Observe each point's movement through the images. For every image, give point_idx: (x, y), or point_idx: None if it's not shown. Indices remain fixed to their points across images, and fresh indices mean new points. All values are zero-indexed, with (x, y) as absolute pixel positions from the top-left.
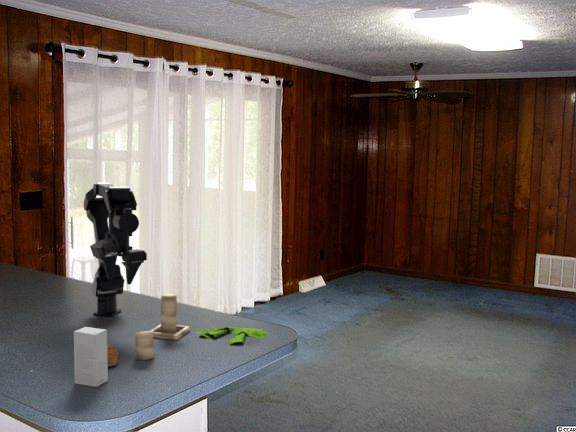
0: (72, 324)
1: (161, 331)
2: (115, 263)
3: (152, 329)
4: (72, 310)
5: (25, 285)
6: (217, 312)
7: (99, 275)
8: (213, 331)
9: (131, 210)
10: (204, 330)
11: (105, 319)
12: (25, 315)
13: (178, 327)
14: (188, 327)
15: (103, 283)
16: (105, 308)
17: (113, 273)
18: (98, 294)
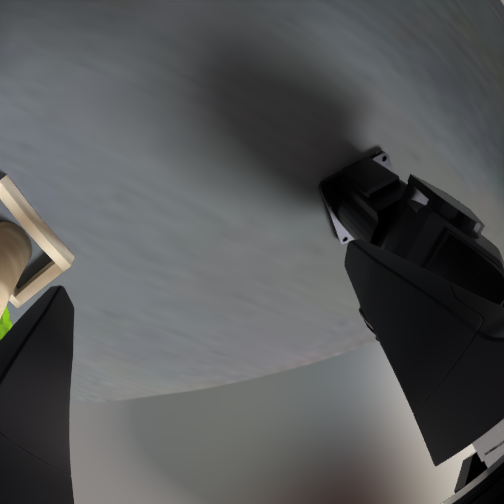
0: (341, 25)
1: (2, 227)
2: (408, 400)
3: (20, 210)
4: (455, 139)
5: None
6: (143, 395)
7: (470, 245)
8: (1, 329)
9: None
10: (3, 318)
11: (305, 148)
12: (492, 34)
13: (26, 285)
14: (10, 300)
15: (417, 228)
16: (351, 182)
17: (366, 313)
18: (411, 191)
